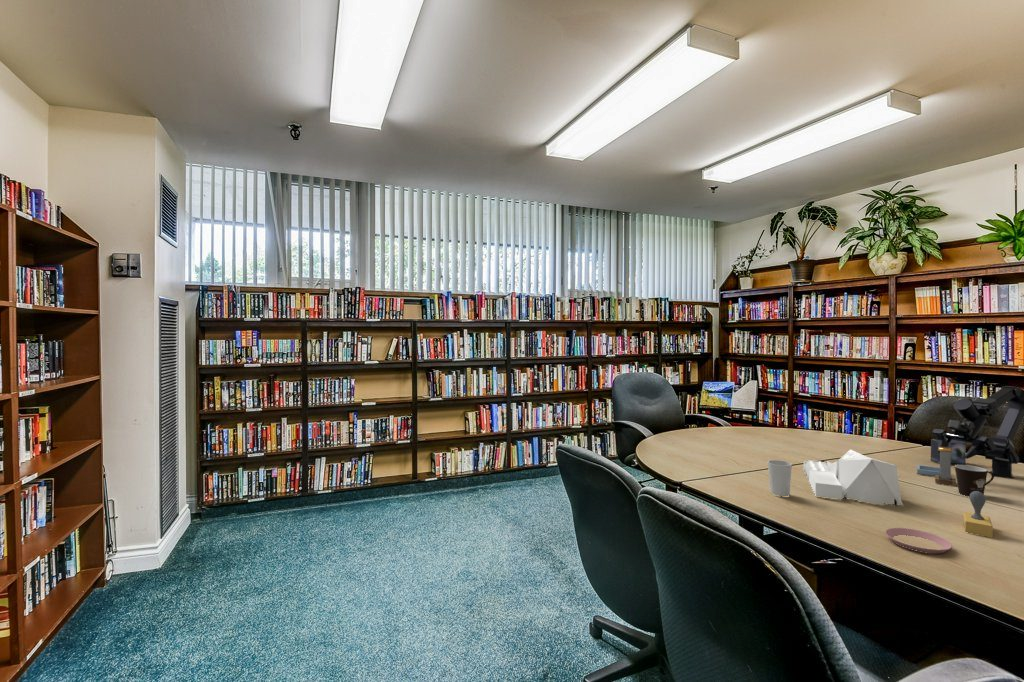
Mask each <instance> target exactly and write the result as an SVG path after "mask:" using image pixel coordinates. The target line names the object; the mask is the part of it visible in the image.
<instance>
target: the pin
mask: <svg viewBox="0 0 1024 682" xmlns="http://www.w3.org/2000/svg"><path fill="white" fill-rule="evenodd" d="M938 450H939V451H940V464H939V468H940V479H946V480H951V477H952V475H951V474H952V473H951V472H952V469H951V468H952V465H951V452H952V448H949V447H938Z"/></svg>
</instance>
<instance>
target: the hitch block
mask: <svg viewBox="0 0 1024 682" xmlns="http://www.w3.org/2000/svg"><path fill="white" fill-rule="evenodd" d="M934 481H935V483H937V484H936V485H942V484H944V485H943V486H948V485H951V487H955V486H956V487H957V477H953V476H951V480H946V479H940V476H938V475H935V477H934Z"/></svg>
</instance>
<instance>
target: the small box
mask: <svg viewBox="0 0 1024 682" xmlns="http://www.w3.org/2000/svg"><path fill="white" fill-rule="evenodd" d="M947 447H949V448H952V452H951V464H952V465H953V466H955V465H957V464H958V465H966V461H967V459H966V458H965V456H966V454H967V452H966V451H967V448H966V447H967V442H962V441H957V440H952V439H951V442H949V445H948V446H947ZM930 461H931V462H933V463H935V464H938V465H940V453H938V440H937V439H936V438H931V439H930ZM954 464H955V465H954ZM952 465H951V466H952Z"/></svg>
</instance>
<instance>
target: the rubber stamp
mask: <svg viewBox="0 0 1024 682" xmlns="http://www.w3.org/2000/svg"><path fill="white" fill-rule="evenodd" d="M968 498H969V501H970V503H971V505H972V507H973V509H974V513H973V512H968V511H964V512H963V514H962V515H963V517H962V518H963V519H962V521H963V528H964V532H965V533H966V532H968V533H967V534H969V533H973V534H972V535H974V534H978V535H977V536H979V535H983V536H982V537H984V536H988V537H987V538H989V537H992V538H993V536H994V535H993V533H994V530H993V526H994V525H993V523H992V520H991V517H990V516H989V515H986V514H981V513H982V509H983V507H984V506H985V503H986V502H987V499H986V495H985V493H984V494H983V493H981V492H979V491H973V492H972V493H971V494H970V496H969V497H968Z"/></svg>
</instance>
